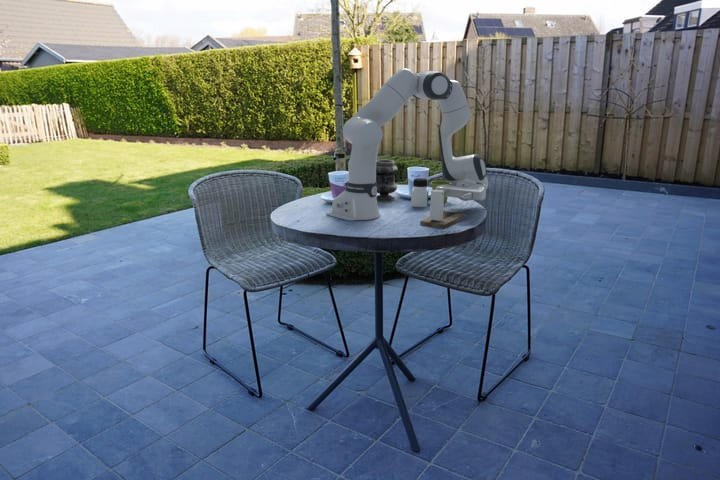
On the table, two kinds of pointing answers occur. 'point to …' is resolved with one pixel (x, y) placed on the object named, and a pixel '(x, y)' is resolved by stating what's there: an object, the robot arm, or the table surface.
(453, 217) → the slider board
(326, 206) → the table surface
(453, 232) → the table surface
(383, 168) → the dark footed urn
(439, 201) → the white upright block
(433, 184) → the plant pot
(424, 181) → the medicine bottle
